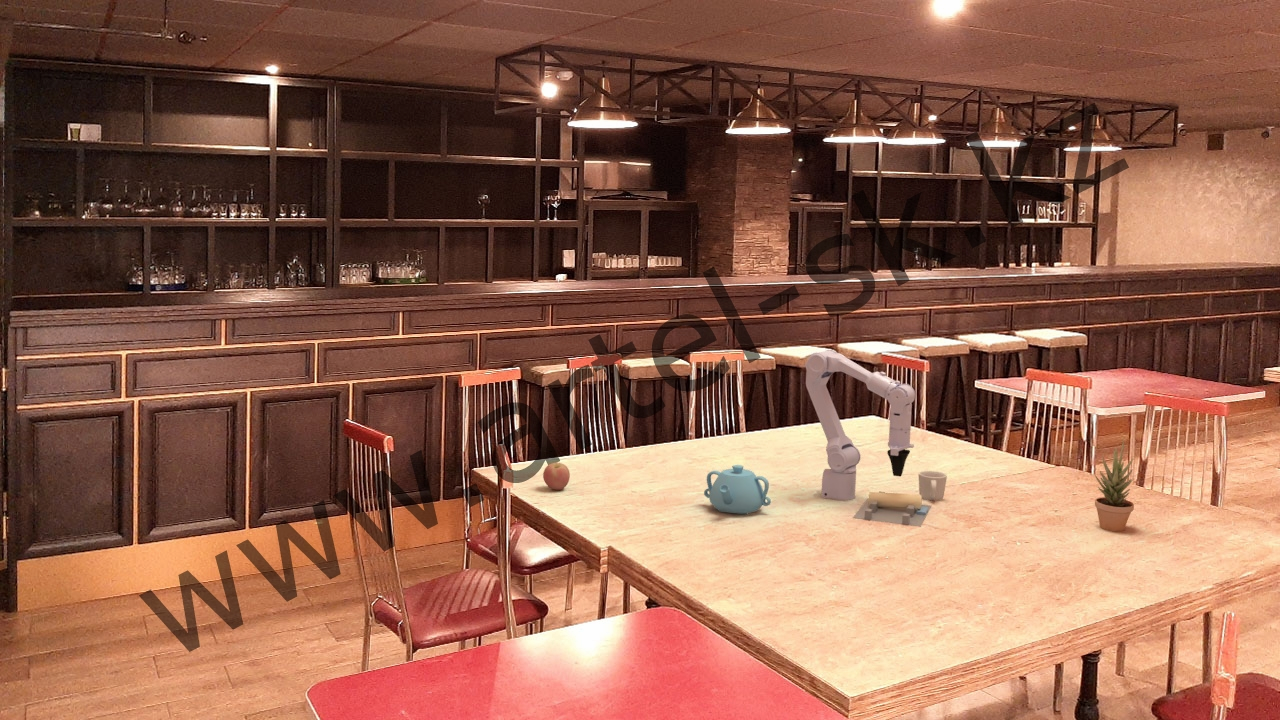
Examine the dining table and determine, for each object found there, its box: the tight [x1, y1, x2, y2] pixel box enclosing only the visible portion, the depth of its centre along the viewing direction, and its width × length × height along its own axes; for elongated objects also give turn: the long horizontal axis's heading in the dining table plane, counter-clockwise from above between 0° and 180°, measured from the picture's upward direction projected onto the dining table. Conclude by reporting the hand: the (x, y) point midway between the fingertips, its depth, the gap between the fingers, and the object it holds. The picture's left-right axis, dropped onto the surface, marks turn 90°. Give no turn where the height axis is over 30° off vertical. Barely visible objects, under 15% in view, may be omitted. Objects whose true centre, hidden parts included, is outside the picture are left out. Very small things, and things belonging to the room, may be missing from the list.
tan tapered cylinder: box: [867, 491, 923, 509], centre depth 287 cm, size 14×4×4 cm, turn 67°
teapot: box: [703, 464, 772, 516], centre depth 285 cm, size 20×20×13 cm
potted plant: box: [1094, 438, 1135, 532], centre depth 275 cm, size 10×10×25 cm
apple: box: [542, 462, 571, 491], centre depth 306 cm, size 8×8×8 cm
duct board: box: [852, 491, 932, 528], centre depth 285 cm, size 18×22×3 cm
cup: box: [918, 470, 948, 502], centre depth 299 cm, size 11×8×8 cm
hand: (897, 475), depth 288 cm, fingers closed
